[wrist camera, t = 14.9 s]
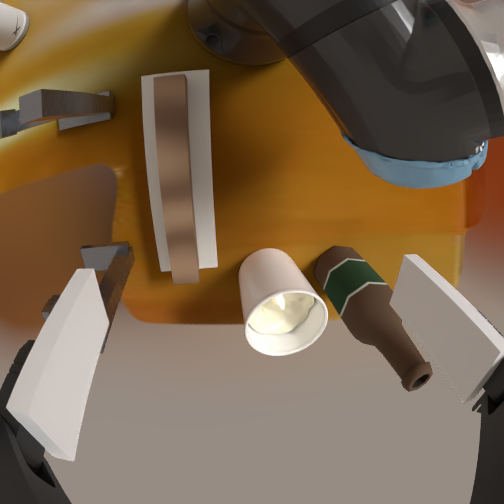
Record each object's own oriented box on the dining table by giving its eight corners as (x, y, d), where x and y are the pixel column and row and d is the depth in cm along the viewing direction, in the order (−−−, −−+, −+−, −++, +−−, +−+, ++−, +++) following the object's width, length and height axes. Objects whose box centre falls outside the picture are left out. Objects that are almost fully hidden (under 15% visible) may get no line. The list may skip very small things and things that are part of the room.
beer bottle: (314, 292, 46) (383, 415, 25) (310, 250, 42) (395, 375, 21) (357, 279, 47) (440, 386, 25) (356, 237, 43) (459, 342, 22)
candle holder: (308, 249, 42) (341, 296, 32) (286, 303, 46) (309, 357, 36) (243, 236, 40) (259, 284, 29) (226, 295, 44) (235, 353, 33)
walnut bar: (160, 82, 29) (153, 77, 24) (187, 79, 29) (184, 73, 25) (176, 264, 39) (173, 284, 35) (199, 262, 40) (199, 282, 36)
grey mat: (142, 76, 28) (141, 76, 28) (209, 70, 29) (209, 69, 29) (161, 269, 40) (161, 271, 40) (217, 265, 41) (217, 267, 41)
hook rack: (59, 103, 27) (-32, 111, 11) (114, 90, 28) (41, 78, 12) (87, 268, 38) (40, 356, 22) (135, 264, 39) (105, 359, 23)
